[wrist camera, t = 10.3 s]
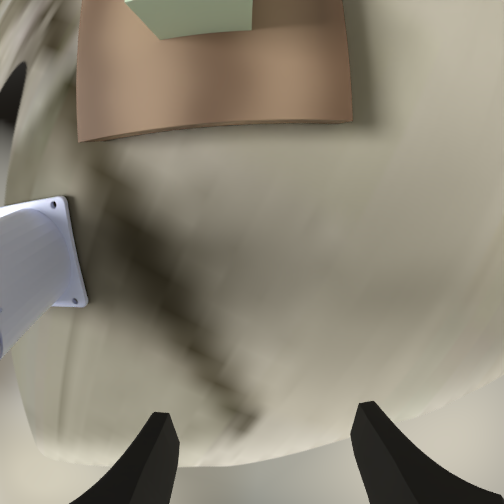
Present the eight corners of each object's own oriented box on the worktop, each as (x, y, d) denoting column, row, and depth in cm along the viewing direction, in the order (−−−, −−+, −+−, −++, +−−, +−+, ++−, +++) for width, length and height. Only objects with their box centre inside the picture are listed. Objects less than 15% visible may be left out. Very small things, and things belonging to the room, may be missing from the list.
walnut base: (102, 141, 17) (78, 142, 14) (109, -40, 12) (93, -58, 9) (336, 124, 17) (352, 120, 14) (316, -60, 12) (325, -83, 9)
